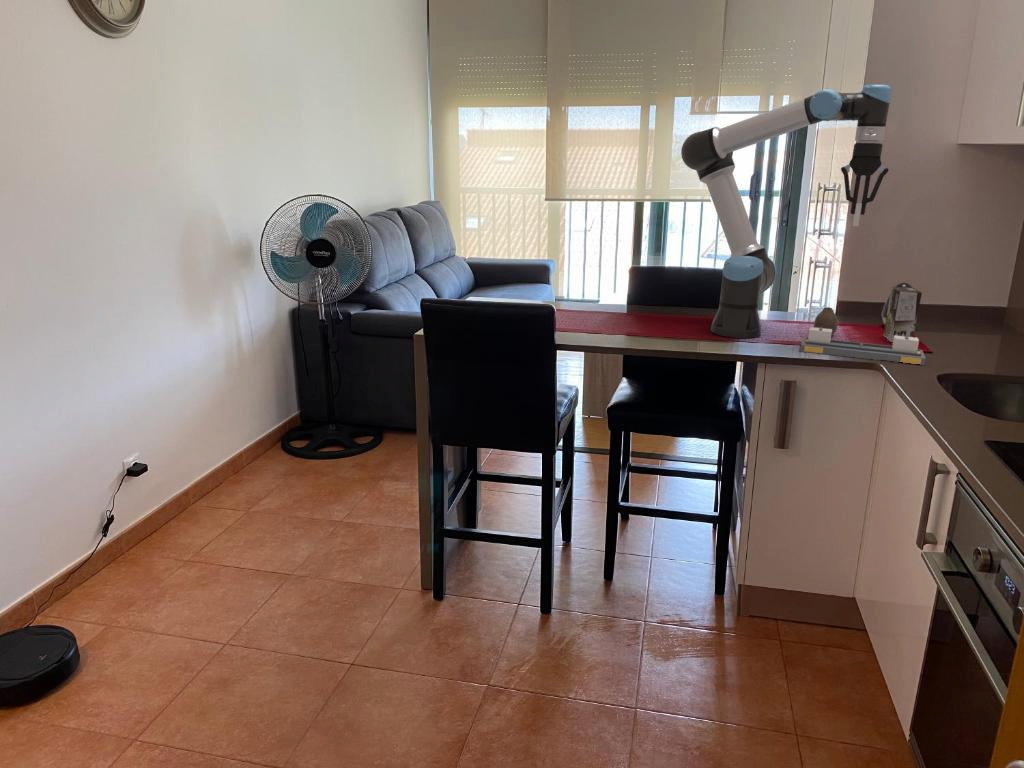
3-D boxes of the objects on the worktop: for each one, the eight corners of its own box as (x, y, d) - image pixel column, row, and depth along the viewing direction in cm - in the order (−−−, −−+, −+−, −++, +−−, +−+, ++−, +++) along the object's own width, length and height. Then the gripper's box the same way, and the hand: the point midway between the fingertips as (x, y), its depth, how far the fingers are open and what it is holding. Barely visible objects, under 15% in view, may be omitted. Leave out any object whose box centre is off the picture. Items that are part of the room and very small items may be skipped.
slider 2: (892, 352, 210) (895, 337, 209) (891, 349, 214) (894, 334, 213) (916, 354, 208) (919, 339, 207) (915, 351, 212) (918, 336, 210)
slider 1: (807, 343, 218) (809, 328, 217) (808, 340, 222) (810, 326, 221) (829, 345, 216) (831, 331, 215) (830, 342, 220) (832, 328, 218)
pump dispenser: (915, 327, 251) (923, 281, 246) (912, 333, 242) (920, 286, 238) (882, 322, 256) (889, 278, 251) (877, 328, 248) (885, 282, 243)
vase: (839, 335, 237) (843, 308, 234) (831, 339, 232) (835, 311, 230) (817, 331, 242) (821, 304, 239) (809, 335, 237) (812, 307, 234)
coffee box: (912, 345, 227) (922, 292, 222) (890, 343, 228) (899, 291, 223) (904, 338, 236) (913, 287, 231) (882, 336, 237) (891, 285, 232)
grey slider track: (800, 351, 217) (801, 342, 216) (801, 343, 226) (803, 335, 225) (924, 365, 205) (926, 356, 204) (920, 356, 214) (922, 347, 213)
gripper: (844, 141, 215) (831, 225, 222) (894, 142, 210) (880, 228, 218) (844, 142, 222) (832, 223, 229) (892, 143, 217) (879, 226, 224)
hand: (855, 225), depth 223 cm, fingers closed
